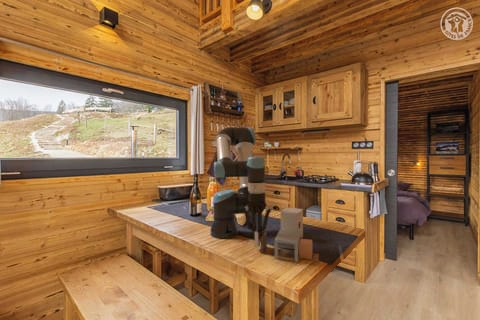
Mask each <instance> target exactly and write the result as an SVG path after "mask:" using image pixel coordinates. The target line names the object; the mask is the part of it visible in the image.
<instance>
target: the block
mask: <svg viewBox="0 0 480 320" xmlns="http://www.w3.org/2000/svg"><path fill="white" fill-rule="evenodd" d="M312 253H313V239H306V238H301V239H300V240H299V258H305V259H312Z"/></svg>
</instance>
